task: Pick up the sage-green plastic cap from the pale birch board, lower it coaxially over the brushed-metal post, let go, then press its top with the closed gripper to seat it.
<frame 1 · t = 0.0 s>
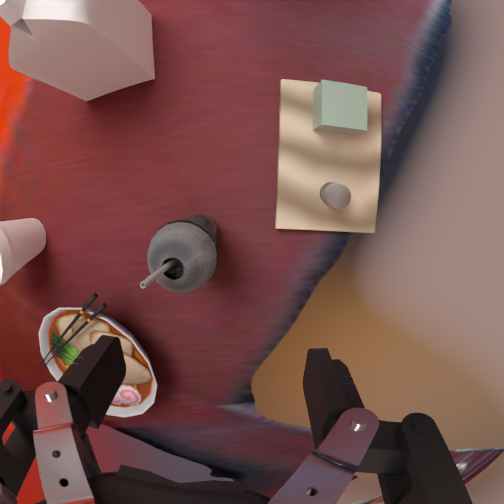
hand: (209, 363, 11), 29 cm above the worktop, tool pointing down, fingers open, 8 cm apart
foam cup: (34, 235, 40), on the worktop
milk: (118, 56, 32), on the worktop
post board: (329, 156, 37), on the worktop
ramen bowl: (109, 345, 46), on the worktop
cap: (333, 112, 34), point 1 cm above the worktop, touching post board
beverage cup: (201, 231, 40), on the worktop
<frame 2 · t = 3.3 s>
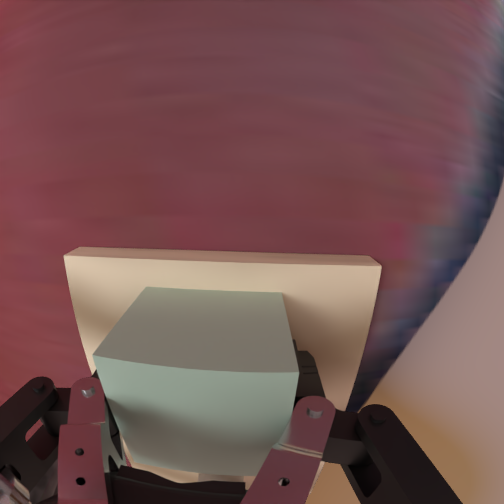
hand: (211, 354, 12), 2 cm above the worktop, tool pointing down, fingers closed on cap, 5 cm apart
post board: (220, 411, 15), on the worktop
cap: (213, 347, 12), point 1 cm above the worktop, touching gripper, post board
beverage cup: (59, 447, 19), on the worktop
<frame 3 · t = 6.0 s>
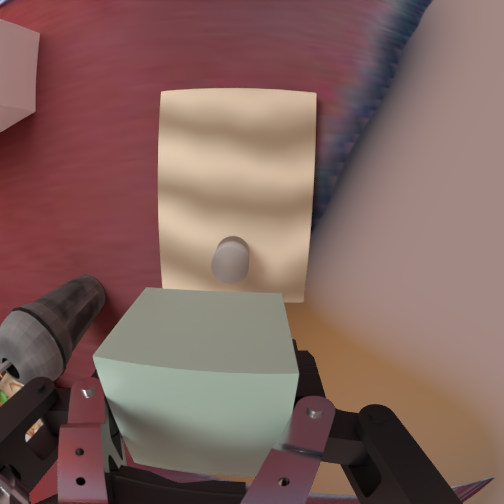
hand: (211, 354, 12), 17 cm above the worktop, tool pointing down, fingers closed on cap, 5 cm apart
milk: (9, 88, 22), on the worktop
post board: (235, 195, 27), on the worktop
ramen bowl: (38, 389, 36), on the worktop
cap: (213, 347, 12), point 17 cm above the worktop, touching gripper
beverage cup: (90, 292, 30), on the worktop
when the fingers open (3 cm above the worktop, at t = 9.0 s): cap drops 1 cm, resting on post board.
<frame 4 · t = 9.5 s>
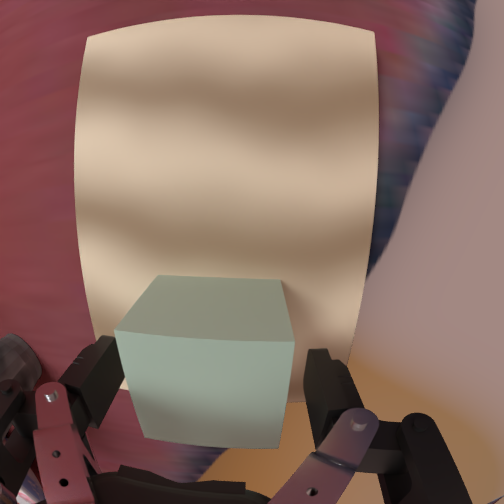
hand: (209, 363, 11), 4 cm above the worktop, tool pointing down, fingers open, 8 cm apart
post board: (218, 222, 14), on the worktop
ramen bowl: (3, 438, 23), on the worktop
cap: (218, 330, 14), point 1 cm above the worktop, touching post board
beverage cup: (23, 355, 17), on the worktop
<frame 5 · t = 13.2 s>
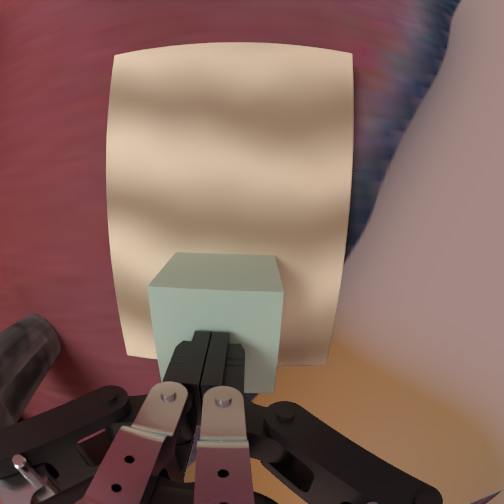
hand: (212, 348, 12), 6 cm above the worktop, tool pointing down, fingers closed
post board: (225, 210, 17), on the worktop
cap: (224, 298, 17), point 1 cm above the worktop, touching gripper, post board
beverage cup: (43, 335, 20), on the worktop
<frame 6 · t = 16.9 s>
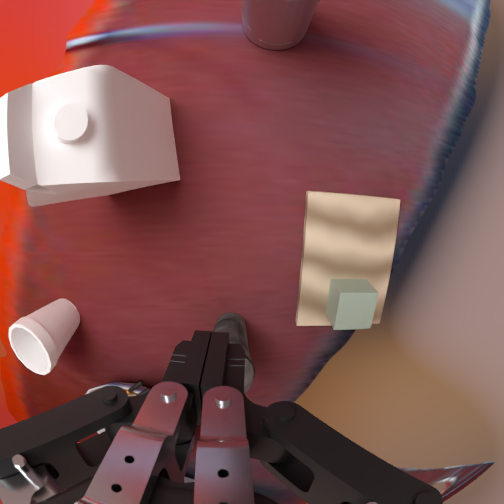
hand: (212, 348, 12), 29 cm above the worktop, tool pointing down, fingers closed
foam cup: (67, 313, 45), on the worktop
milk: (137, 147, 37), on the worktop
post board: (346, 261, 42), on the worktop
ramen bowl: (145, 403, 51), on the worktop
cap: (345, 296, 42), point 1 cm above the worktop, touching post board
beverage cup: (231, 324, 45), on the worktop
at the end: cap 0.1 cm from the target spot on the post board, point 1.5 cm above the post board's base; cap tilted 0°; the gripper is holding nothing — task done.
